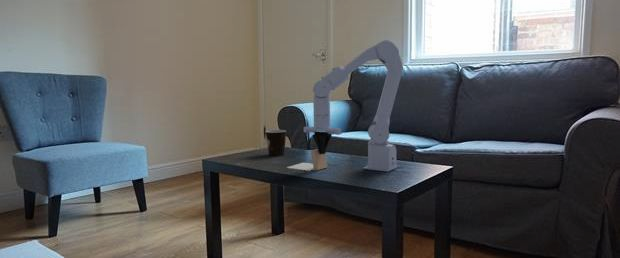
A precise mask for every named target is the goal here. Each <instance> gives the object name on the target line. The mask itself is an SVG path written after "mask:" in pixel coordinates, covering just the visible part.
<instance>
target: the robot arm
mask: <svg viewBox="0 0 620 258" xmlns="http://www.w3.org/2000/svg"><path fill="white" fill-rule="evenodd" d="M374 60H375V61H376V60H379V61H380V62H381V63H382V64H383V66H384V67H385V69H386V70H387V72H386V77H385V80H384V84H383V88H382V90H381V91H382V92H381V96H380V97H379V102H378V107H377V110H376V114H375V116H374V118H373V121H372V123H371V124H370V126H369V127H368V128H367V133H368V134H367V135H368V137H369V138H370V139H369V141H367V150H368V151H367V153H368V154H367V165H366V166H364V167H363V169H364V170H371V171H381V172H391V171H392V170H395V169H397V168H398V165H397V147H396V145H394V144H392V143H390V141H389V138H390V130H389V128H390V122H391V121H390V119H391V114H392V112H393V107H394V103H395V100H396V96H397V92H398V89H399V85H400V82H401V78H402V75H403V71H404V65H403V62H402V59H401V56H400V52H399V48H398V47H397V46H396V44H395V43H394V42H393V41H391V40H389V39H384V40H382V41H380V42H378V43H376V44H375V45H372V46H371V47H369V48H367V49H365V50H364V51H363V52H361V53H360V54H358V56H356V57H355V58H354V59H352V60H351V61H350V62H348V63H347V64H346V65H344V66H342V65H341V66H339V65H338V66H334V67H333V68H331V71H329V73H327V74H326V75H322V76H321V77H320V79H321V80H317V81H316V82H315V83H314V85H313V88H312V92H313V94H314V95H313V102H312V103H313V105H312V106H313V126H303V133H311V134H312V133H313V134H312V138H313V140H314V141H315V145H316V146H317V149H318V150H319V154H325V155H326V153H327V148H328V144H329V142H330V139H331V137H333V136H332V135H336V136H338V135H342V128H337V127H331V102H330V94H331V91H334V90H336V89H338V88H339V87H341V86H342V85H343V84H345V83H346V82H347V81H348V80H349V78H350V77H349V76H350V74H351V73H353V72H355V71H356V70H357V69H359V68H360V67H361V66H363V65H365V64H366V63H367V62H369V61H374Z"/></svg>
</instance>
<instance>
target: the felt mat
mask: <svg viewBox="0 0 620 258" xmlns="http://www.w3.org/2000/svg"><path fill="white" fill-rule="evenodd" d="M286 169H289V170H290V169H291V170H296V171H297V170H298V171H304V170H305V172H311V170H312V171H315V170H314V167H313V163H309V162H300V163H297V164H293V165H291V166H290V165H289V166H286Z"/></svg>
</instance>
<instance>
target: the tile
mask: <svg viewBox="0 0 620 258" xmlns="http://www.w3.org/2000/svg"><path fill="white" fill-rule="evenodd" d="M310 155H311V159H312V160H311V161H312V164H313V167H314V170H313V171H320V170H323V169H325V168H328V162H327V157H326V153H325V154H319V150H318V148H315V149H312V150H310Z"/></svg>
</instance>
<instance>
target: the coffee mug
mask: <svg viewBox="0 0 620 258" xmlns="http://www.w3.org/2000/svg"><path fill="white" fill-rule="evenodd" d="M265 136H266V144H267V150H268V156H269V157H283V156H285V153H286V152H285V151H286V139H287V130H284V129H271V130H270V129H269V130H266V131H265Z"/></svg>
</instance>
